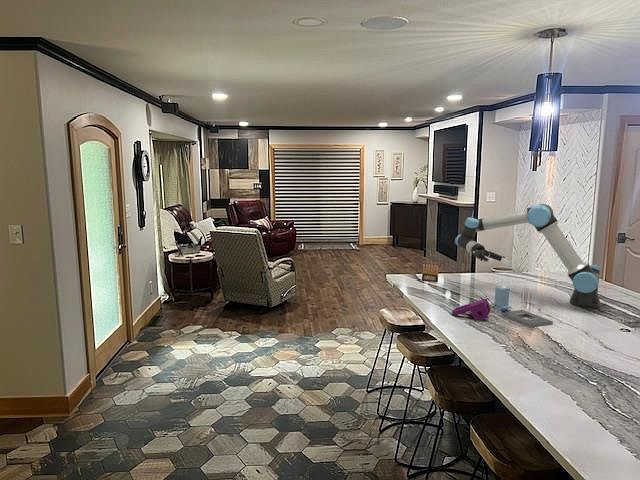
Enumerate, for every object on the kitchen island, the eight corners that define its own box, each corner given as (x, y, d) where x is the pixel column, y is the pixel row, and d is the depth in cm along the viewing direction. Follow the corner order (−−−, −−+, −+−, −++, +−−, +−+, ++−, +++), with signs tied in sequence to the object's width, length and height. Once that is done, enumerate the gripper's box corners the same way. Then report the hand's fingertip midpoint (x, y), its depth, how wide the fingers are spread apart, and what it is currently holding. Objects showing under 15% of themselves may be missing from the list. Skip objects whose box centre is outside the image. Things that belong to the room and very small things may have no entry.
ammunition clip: (438, 281, 320) (438, 264, 318) (437, 282, 318) (438, 264, 316) (422, 280, 324) (422, 263, 322) (421, 280, 322) (422, 263, 320)
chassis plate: (501, 315, 248) (501, 312, 247) (522, 312, 253) (522, 309, 252) (530, 327, 229) (530, 323, 229) (552, 324, 234) (552, 320, 234)
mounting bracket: (456, 328, 245) (490, 318, 236) (450, 312, 246) (483, 302, 237) (460, 322, 253) (492, 313, 245) (453, 308, 254) (486, 298, 245)
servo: (491, 307, 263) (492, 284, 261) (498, 306, 264) (499, 283, 262) (503, 312, 253) (505, 288, 252) (511, 311, 255) (513, 288, 253)
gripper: (488, 256, 287) (514, 270, 269) (457, 253, 276) (482, 268, 258) (493, 244, 285) (519, 258, 267) (461, 241, 274) (487, 255, 256)
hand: (501, 263), depth 263 cm, fingers open, 13 cm apart
